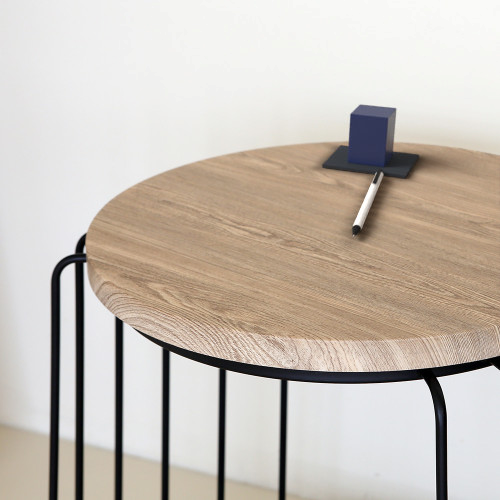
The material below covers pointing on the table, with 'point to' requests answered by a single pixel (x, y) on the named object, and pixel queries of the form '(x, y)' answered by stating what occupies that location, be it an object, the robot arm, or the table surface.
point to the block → (371, 135)
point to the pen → (367, 203)
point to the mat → (394, 168)
